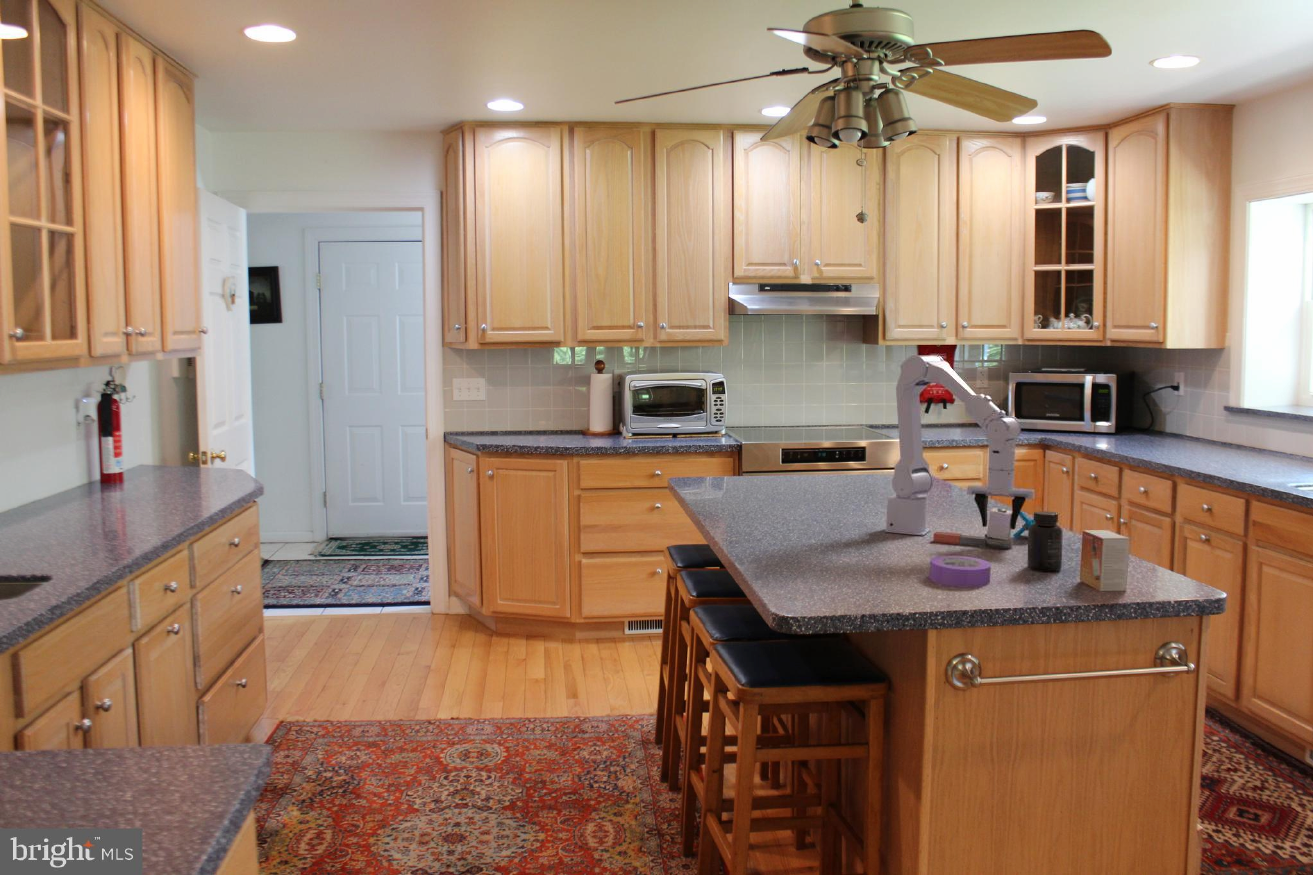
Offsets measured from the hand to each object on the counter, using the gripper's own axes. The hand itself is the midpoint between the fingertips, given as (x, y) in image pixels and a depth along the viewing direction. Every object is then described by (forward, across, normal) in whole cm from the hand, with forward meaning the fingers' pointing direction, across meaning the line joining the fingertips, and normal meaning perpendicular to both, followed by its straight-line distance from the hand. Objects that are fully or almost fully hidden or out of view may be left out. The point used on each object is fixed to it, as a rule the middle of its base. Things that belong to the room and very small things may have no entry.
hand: (998, 527), depth 234 cm
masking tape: (+5, -2, -36) cm, 36 cm away
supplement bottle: (+5, +12, -18) cm, 22 cm away
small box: (+5, +24, -28) cm, 37 cm away
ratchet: (+5, -6, 0) cm, 7 cm away
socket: (+2, 0, 0) cm, 2 cm away
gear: (+5, +5, +14) cm, 16 cm away
